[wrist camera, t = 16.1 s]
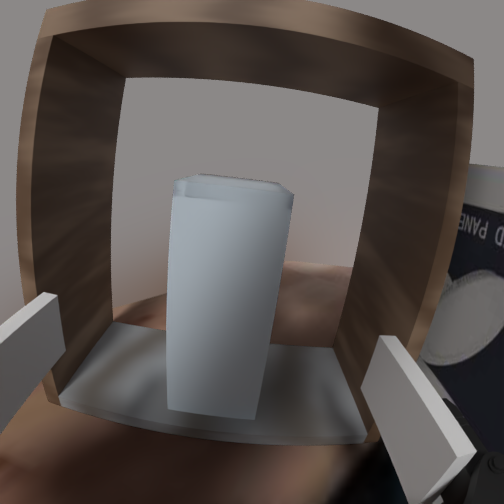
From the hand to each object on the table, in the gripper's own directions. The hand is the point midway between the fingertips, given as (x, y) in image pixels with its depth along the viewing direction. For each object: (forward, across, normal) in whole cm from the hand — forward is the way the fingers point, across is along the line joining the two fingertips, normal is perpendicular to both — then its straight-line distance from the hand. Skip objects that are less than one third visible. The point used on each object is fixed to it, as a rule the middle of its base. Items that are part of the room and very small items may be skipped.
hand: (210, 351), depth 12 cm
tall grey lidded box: (+10, 0, -9) cm, 14 cm away
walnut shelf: (+10, 0, -10) cm, 14 cm away
